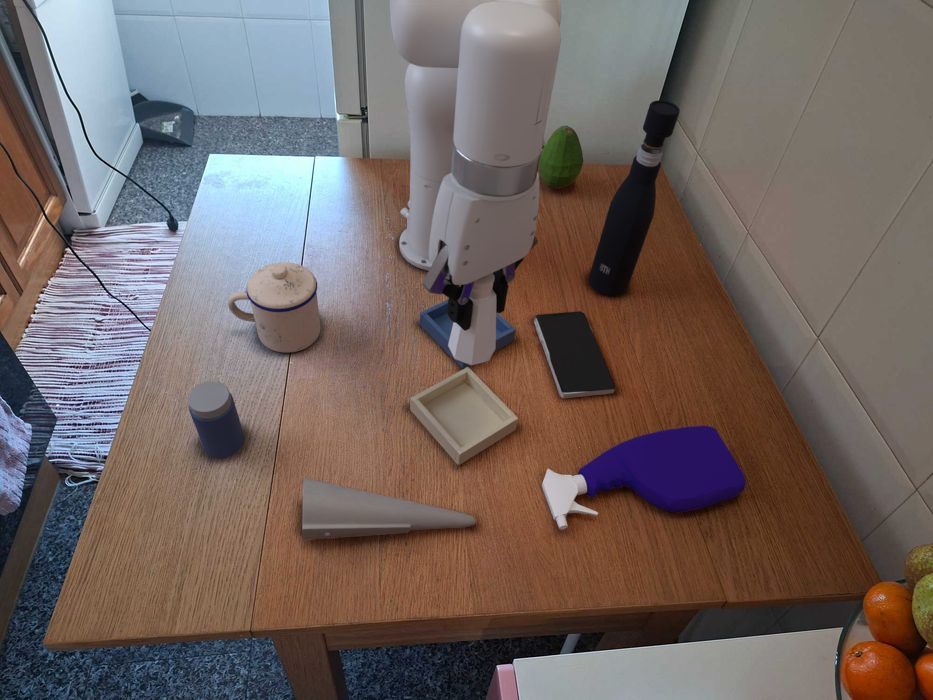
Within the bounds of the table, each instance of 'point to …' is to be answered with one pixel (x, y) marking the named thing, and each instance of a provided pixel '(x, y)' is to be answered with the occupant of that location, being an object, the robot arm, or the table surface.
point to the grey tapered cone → (368, 513)
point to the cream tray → (463, 415)
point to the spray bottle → (654, 473)
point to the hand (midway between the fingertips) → (475, 312)
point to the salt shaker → (477, 326)
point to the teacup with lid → (282, 306)
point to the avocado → (561, 158)
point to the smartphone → (573, 355)
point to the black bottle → (632, 207)
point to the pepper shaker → (216, 419)
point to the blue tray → (441, 326)
